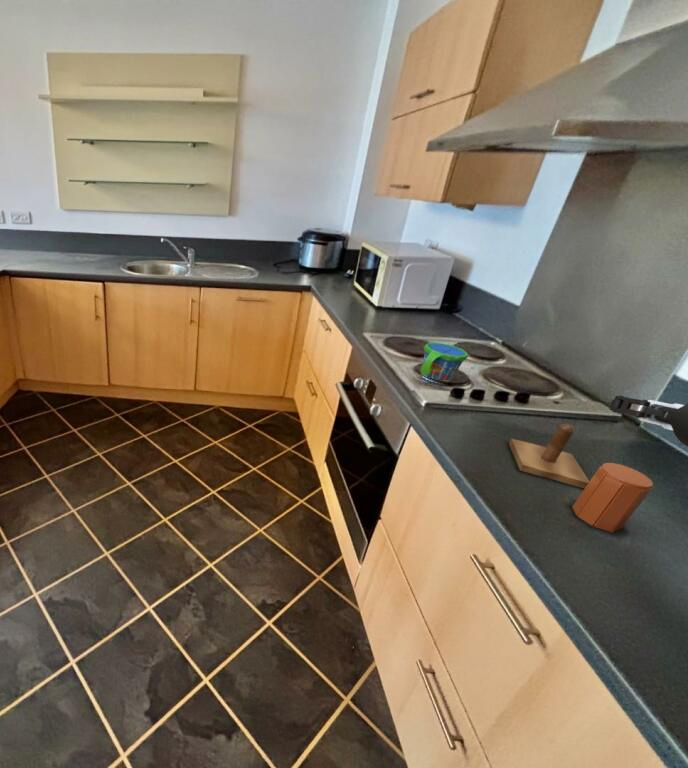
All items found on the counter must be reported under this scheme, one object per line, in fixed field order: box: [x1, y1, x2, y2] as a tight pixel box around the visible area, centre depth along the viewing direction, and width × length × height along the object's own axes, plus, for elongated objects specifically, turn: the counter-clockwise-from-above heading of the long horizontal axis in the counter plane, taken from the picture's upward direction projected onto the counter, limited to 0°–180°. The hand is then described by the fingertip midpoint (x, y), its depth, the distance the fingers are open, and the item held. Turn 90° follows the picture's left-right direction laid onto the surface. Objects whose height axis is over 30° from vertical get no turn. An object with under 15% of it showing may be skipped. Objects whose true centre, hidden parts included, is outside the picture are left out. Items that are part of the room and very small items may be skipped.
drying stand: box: [508, 423, 590, 490], centre depth 85 cm, size 11×11×10 cm
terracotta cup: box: [571, 462, 654, 533], centre depth 72 cm, size 6×6×10 cm
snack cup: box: [420, 342, 469, 387], centre depth 120 cm, size 16×10×10 cm
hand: (647, 411), depth 68 cm, fingers open, 8 cm apart
